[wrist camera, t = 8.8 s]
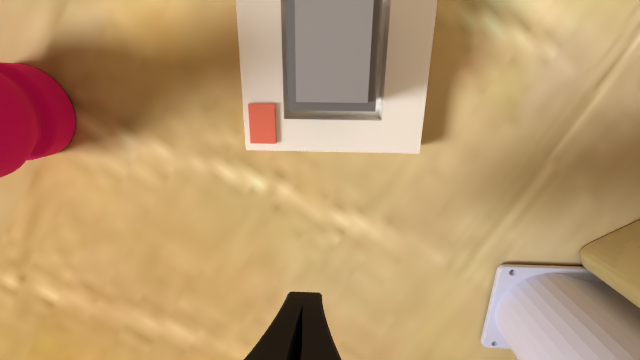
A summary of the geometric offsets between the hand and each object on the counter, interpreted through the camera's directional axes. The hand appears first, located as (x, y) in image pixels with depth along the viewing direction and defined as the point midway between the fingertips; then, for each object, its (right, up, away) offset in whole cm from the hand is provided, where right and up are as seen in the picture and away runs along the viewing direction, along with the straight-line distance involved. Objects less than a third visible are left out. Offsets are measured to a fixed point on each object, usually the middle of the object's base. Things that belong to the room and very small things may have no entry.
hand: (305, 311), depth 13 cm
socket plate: (+2, +13, +6) cm, 15 cm away
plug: (+1, +13, +6) cm, 14 cm away
